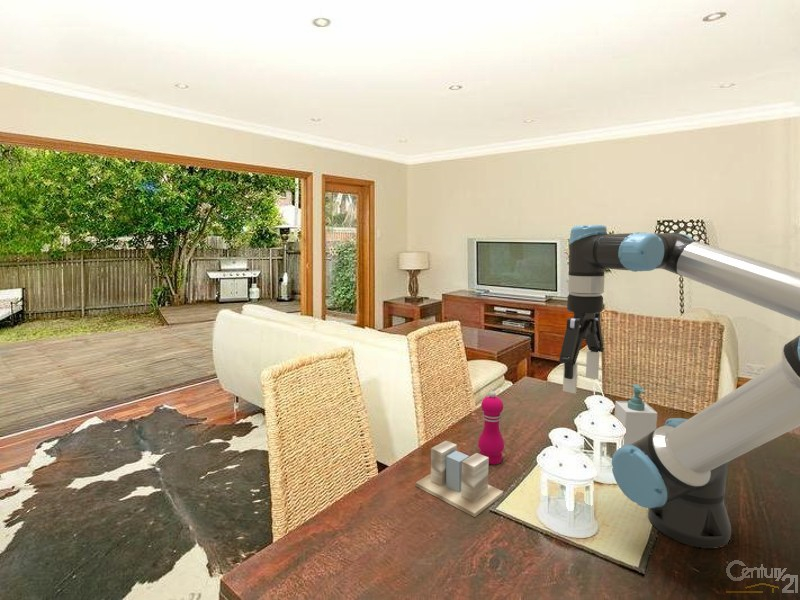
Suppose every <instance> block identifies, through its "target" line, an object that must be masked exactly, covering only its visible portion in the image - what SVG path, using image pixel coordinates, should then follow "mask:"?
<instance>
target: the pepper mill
mask: <svg viewBox="0 0 800 600" xmlns="http://www.w3.org/2000/svg"><path fill="white" fill-rule="evenodd" d="M496 394H497V393H496V391H493V390H492V391H490V392H489V394H488V396H485V397H484V398H483V399H482V400H481V410H482V411H483V413H482V418H483V420H484V421H483V422H484V427H483V430H482V431H481V434H480V435H479V438H478V440H477V441H478V443H477V446H478V448H479V454H481V455H483V456H486V457H488V458H489V465H498V464H500V463H501V462H502V461H503V453H502V452H503V451H504V449H505V441H504V438H503V435H502V433H501V429H500V421H501V420H502V414H501V413H502V412H503V410H504V403H503V401H502V399H501V398H500V397H498V396H497V395H496Z"/></svg>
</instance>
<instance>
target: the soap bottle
mask: <svg viewBox="0 0 800 600" xmlns="http://www.w3.org/2000/svg"><path fill="white" fill-rule="evenodd" d="M631 386H632V387H633V394H634V395H633V396H631V397H630V399H629V400H628V401H627V400H615V405H614V408H615V409H614V417H616V418H617V419H618V420H619V421H620V422H621V423H622V424H623V426H624V427H625V428H626V435H625V438H624V445H628V444H629V445H630V444H632V443H634V442H636V441H638V440H640V439H642V438H643V437H645V436H646V435H648V434H649V433H651V432H652V431H654V430H656V429H657V423H658V412H657V411H656V410H655V409H654V408H653V407H652V406H650V405H649V404H648V403H647V402H645V401H643V398H642V397H640V394H645V393H646V391H645V389H643V388H642V387H641V386H640V385H639V384H638V383H633V384H631Z"/></svg>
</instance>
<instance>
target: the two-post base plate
mask: <svg viewBox="0 0 800 600" xmlns="http://www.w3.org/2000/svg"><path fill="white" fill-rule="evenodd" d="M455 451H458V444H456V443H453V442H452V441H448V440H444V441H442V442H440V443H439V444H437V445H434V446H433V447H431V448H430V474H428V475H426V476H424V477H423V478H421V479H419V480H418V481H416V482H415V487H416V488H417V489H421V490H422V491H424V492H426V493H427V494H430V495H432V496H434V497H435V498H437V499H439V500H441V501H443V502H445V503H446V504H448V505H451V506H452V507H454V508H457V509H458V510H460V511H462V512H464V513H466V515H469V516H472V517H473V518H475V517H477V516H478V515H479V514H481V513H482V512H484V511H485V510H486V509H488V508H489V507H490V506H491V505H492V504H494V503H496V501H497V500H499V499H501V498H502V497H503V496H504V490H501V489H498V488H497V487H494V486H492V485H491V484H489V465H490V464H489V458H488V457H486V456H483V455H481V454H480V453H478V452H476V453H474V454H472V455H469V458H467V459H465V460H464V461H462V482H461V492H459V493H458V492H456V491H454V490H452V489H450V488H448V487H446V456H448V455H449V454H451V453H453V452H455Z"/></svg>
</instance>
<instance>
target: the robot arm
mask: <svg viewBox="0 0 800 600" xmlns="http://www.w3.org/2000/svg"><path fill="white" fill-rule="evenodd" d="M569 234H570V236H569V243H568V256H569V257H568V260H569V261H568V278H567V279H566V283H567V292H568V293H569V294H568V295H567V300H566V301H567V302H566V308H567V310H568V312H573V318H571V317H568V318H567V319H566V329H565V332H564V337H563V343H562V347H561V350H560V355H559V361H558V362H559V363H561V364H563V374H562V375H563V378H562V381H563V382H562V392H566V393H571V394H574V395H575V394H576V393H577V388H578V387H577V384H578V383H577V382H578V381H577V380H578V363H576V362H577V360H578V357H579V354H580V351H581V348H582V344H583V341H584V340H585V341H586V346H587V348H588V350H587V351H586V362H585V365H586V366H585V378H590V379H594V380H598V379H599V370H600V369H599V368H600V367H599V366H600V353H604V350H605V348H604V341H603V339H604V338H603V334H602V326H601V313H602V312H603V310H604V296H603V295H602V294H603V293H604V292H605V270H616V271H617V270H619V271H631V272H635V273H636V272H651V271H654V270H656V269H657V270H658V269H661V270H664V271H668V272H669V273H673V274H676V275H678V276H682V277H684V278H687V279H689V280H691V281H695V282H697V283H700V284H702V285H706V286H707V287H710V288H712V289H715V290H718V291H720V292H723V293H726V294H728V295H731V296H733V297H736V298H739V299H741V300H745V301H747V302H750V303H752V304H755V305H757V306H760V307H762V308H765V309H768V310H770V311H773V312H776V313H779V314H780V315H783V316H786V317H789V318H792V319H794V320H796V321H799V322H800V272H799V271H795V270H792V269H789V268H786V267H782V266H780V265H776V264H773V263H769V262H766V261H763V260H760V259H756V258H753V257H749V256H745V255H743V254H740V253H736V252H733V251H730V250H726V249H723V248H721V247H720V248H719V247H716V246H713V245H710V244H707V243H704V242H701V241H697V240H694V239H693V238H692V237H691V236H689V235H687V234H683V233H678V232H667V233H658V232H657V233H652V232H651V233H647V232H629V233H608V232H607V227H606V225H602V224H601V225H600V224H592V225H591V224H588V225H587V224H586V225H585V224H584V225H582V224H580V225H574V226H573V227H572V228H571V229H570V233H569ZM798 427H800V334H799V335H798V336H796V337H794V338H793V339H791V340H790V341H789V342H787V343H785V344H784V345H783V346H782V348H781V360H780V361H778V362H777V363H775V364H774V365H772V366H771V367H769V368H767V369H766V370H764V371H763V372H761V373H760V374H758V375H756V376H755V377H753V378H752V379H750V380H748V381H747V382H745V383H744V384H742V385H741V386H738V387H737V388H736V389H734V390H732V391H731V392H730V393H728V394H726V395H725V396H723V397H721V398H720V399H718V400H716V401H715V402H713V403H712V404H710V405H708V406H707V407H705V408H704V409H703V410H701V411H699V412H698V413H696V414H694V415H693V416H691V417H690V418H681V417H673V418H671V417H670V418H668V419H666V421H665V424H664V425H662V426H659V427H656V430H654V431H652V432H651V433H649V434H648V435H646V436H645V437H643V438H642V439H640V440H638V441H636V442H634V443H632V444H630V445H629V444H628V445H623V446H622V447H621V448H619V447H618V448H617V449H616V450H615V451H614V453H613V455H612V458H611V466H612V469H611V470H612V475H613V478H614V480H615V482H616V484H617V486H618V488H619V489H620V490H621V492H622V493H623V494H624V496H626V497H627V499H628V500H630V501H631V502H632V503H636V504H637V506H639V507H641V508H645V509H648V510H647V511H648V512H647V516H648V520H649V521H650V523H651V524H652V525H653V527H655V529H657V530H658V531H659V532H661V533H662V534H664V535H665V536H667V537H669V538H670V539H673V540H674V541H676V542H679V543H681V544H685V545H687V546H691V547H694V546H695V548H699V547H701V548H700V549H706V548H714V547H720V546H723V545H725V544H727V543H728V542H729V540H730V541H731V537H732V536H731V535H732V526H731V521H730V517H729V515H728V512H727V508H726V505H725V493H726V485H727V476H728V470H729V462H731V461H732V460H734V459H735V460H736V458H738V457H740V456H742V455H744V454H746V453H748V452H749V453H750V451H752V450H754V449H757V448H759V447H761V446H762V445H765V444H767V443H768V442H771V441H773V440H774V439H776V438H778V437H781V436H782V435H784V434H787V433H789V432H790V431H793V430H795V429H796V428H798ZM729 543H730V542H729ZM727 545H728V544H727Z"/></svg>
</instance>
